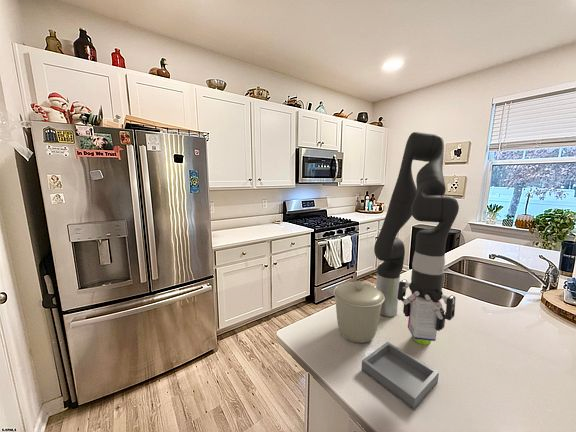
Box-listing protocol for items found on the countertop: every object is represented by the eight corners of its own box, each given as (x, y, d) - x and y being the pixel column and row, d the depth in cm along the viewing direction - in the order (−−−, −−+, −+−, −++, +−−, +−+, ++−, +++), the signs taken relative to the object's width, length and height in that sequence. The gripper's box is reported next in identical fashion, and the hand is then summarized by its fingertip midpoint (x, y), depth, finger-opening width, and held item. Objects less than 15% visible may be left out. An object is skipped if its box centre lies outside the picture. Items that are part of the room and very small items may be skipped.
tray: (361, 370, 74) (362, 360, 73) (386, 350, 82) (387, 341, 82) (413, 410, 61) (415, 398, 61) (437, 382, 70) (438, 372, 69)
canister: (389, 332, 92) (393, 281, 88) (368, 359, 79) (372, 299, 75) (346, 314, 104) (348, 268, 100) (322, 334, 91) (324, 282, 87)
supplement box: (436, 341, 66) (441, 303, 64) (413, 339, 67) (417, 301, 65) (428, 328, 71) (432, 292, 69) (407, 326, 72) (410, 291, 70)
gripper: (463, 272, 62) (455, 329, 65) (408, 258, 73) (403, 307, 76) (452, 280, 58) (445, 341, 61) (395, 263, 69) (391, 315, 72)
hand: (422, 322), depth 68 cm, fingers closed on supplement box, 8 cm apart
